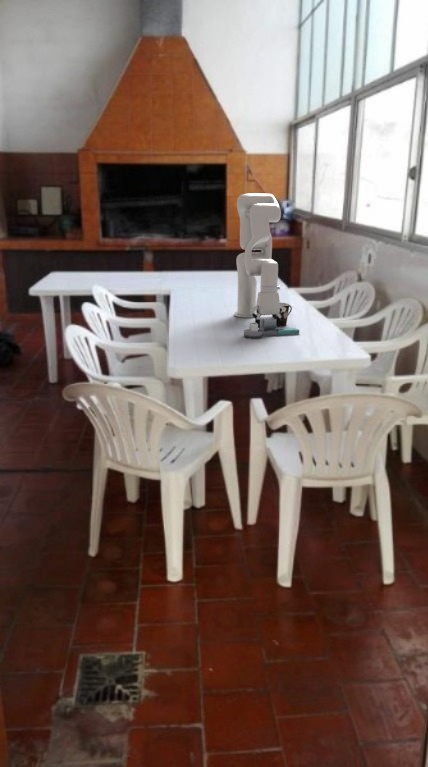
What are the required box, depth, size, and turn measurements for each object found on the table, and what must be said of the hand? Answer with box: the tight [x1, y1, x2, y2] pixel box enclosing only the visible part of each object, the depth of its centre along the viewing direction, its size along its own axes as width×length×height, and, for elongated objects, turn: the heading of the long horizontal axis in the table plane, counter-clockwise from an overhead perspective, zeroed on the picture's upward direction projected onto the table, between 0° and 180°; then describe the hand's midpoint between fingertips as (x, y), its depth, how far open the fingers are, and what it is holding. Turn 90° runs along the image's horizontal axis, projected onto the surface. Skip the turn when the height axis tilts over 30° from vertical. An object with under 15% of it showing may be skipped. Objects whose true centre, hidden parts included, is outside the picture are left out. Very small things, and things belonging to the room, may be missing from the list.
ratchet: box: [243, 321, 300, 340], centre depth 259 cm, size 8×26×6 cm, turn 108°
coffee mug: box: [271, 302, 293, 328], centre depth 279 cm, size 12×9×10 cm
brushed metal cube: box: [258, 316, 277, 331], centre depth 267 cm, size 6×6×6 cm
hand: (267, 326), depth 267 cm, fingers open, 9 cm apart
